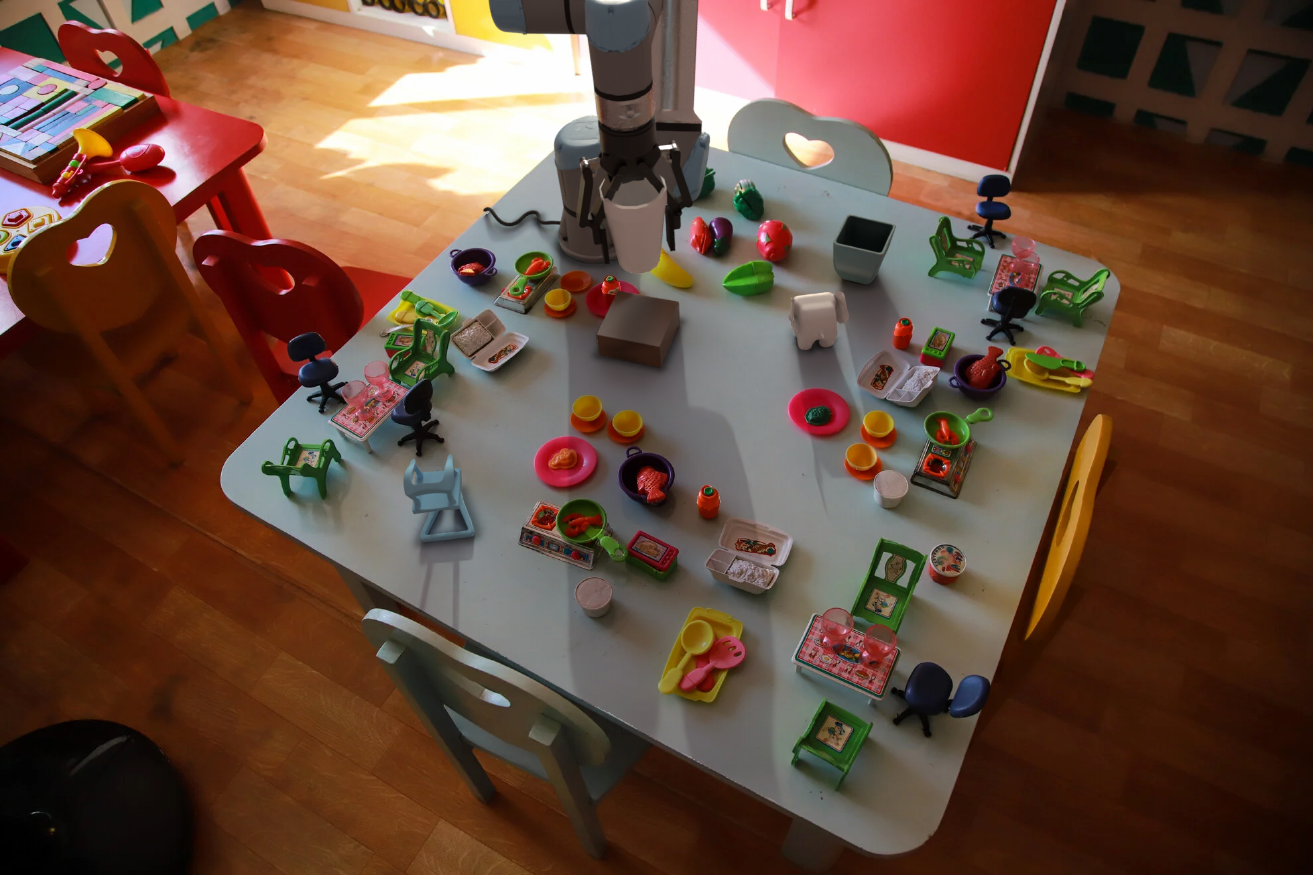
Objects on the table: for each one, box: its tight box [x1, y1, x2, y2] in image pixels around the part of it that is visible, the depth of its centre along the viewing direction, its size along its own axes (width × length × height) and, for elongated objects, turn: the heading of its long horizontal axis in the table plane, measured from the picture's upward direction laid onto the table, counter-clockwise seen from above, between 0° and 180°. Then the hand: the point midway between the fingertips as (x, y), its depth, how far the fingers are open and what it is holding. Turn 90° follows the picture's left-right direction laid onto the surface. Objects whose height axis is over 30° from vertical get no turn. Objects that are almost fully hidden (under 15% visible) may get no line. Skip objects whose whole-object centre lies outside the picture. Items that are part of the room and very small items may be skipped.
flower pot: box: [832, 213, 897, 286], centre depth 144 cm, size 9×9×9 cm
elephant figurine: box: [788, 291, 850, 351], centre depth 136 cm, size 10×12×9 cm
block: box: [595, 290, 681, 368], centre depth 139 cm, size 11×11×5 cm
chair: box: [403, 454, 476, 543], centre depth 116 cm, size 8×8×12 cm
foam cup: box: [599, 176, 667, 274], centre depth 120 cm, size 10×9×13 cm
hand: (638, 251), depth 124 cm, fingers closed on foam cup, 9 cm apart
